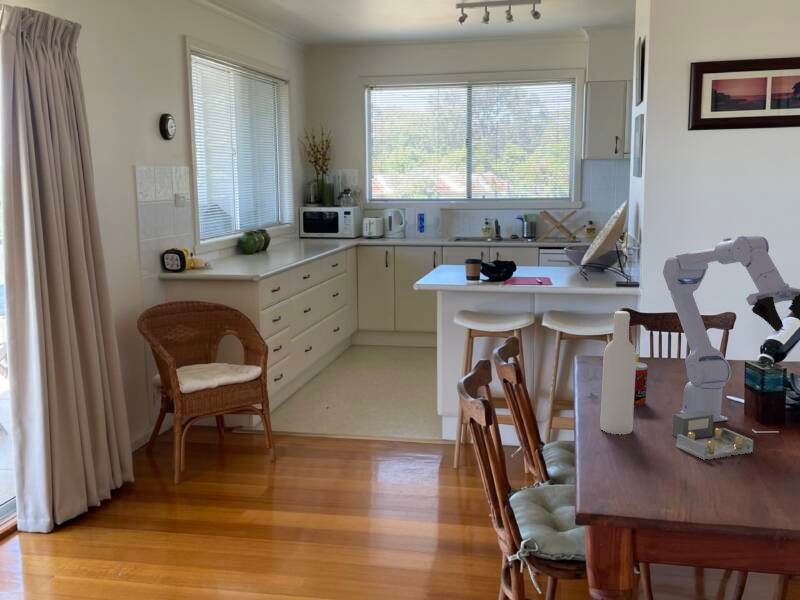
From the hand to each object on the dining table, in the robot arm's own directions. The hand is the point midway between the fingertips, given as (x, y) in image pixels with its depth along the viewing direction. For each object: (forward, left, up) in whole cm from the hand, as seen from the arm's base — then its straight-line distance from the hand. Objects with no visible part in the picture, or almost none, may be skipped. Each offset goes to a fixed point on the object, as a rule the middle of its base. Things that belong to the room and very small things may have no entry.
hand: (794, 327), depth 169 cm
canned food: (-45, -8, -30) cm, 55 cm away
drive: (-17, -11, -30) cm, 36 cm away
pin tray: (-8, -13, -30) cm, 33 cm away
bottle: (-27, -26, -30) cm, 48 cm away
